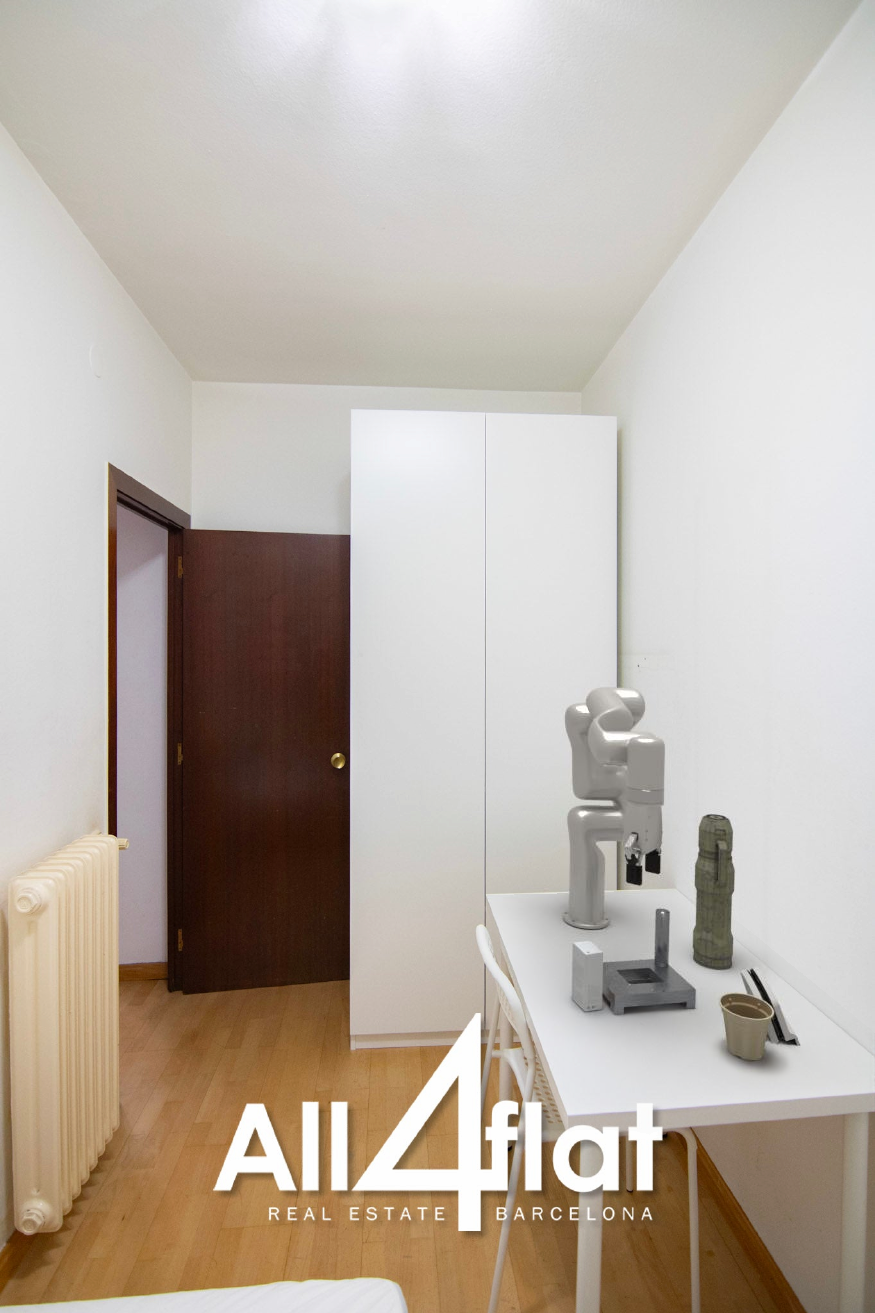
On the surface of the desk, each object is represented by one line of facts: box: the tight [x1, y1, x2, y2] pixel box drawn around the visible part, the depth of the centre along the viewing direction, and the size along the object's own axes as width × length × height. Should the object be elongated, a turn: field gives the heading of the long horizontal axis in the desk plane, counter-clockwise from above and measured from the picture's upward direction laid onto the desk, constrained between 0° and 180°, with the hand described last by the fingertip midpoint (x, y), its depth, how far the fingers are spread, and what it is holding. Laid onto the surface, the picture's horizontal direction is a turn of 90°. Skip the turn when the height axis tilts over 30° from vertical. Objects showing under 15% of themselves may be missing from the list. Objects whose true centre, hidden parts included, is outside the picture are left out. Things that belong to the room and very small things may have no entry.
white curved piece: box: [739, 967, 801, 1046], centre depth 136 cm, size 17×5×10 cm, turn 169°
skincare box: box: [571, 940, 604, 1013], centre depth 141 cm, size 6×4×12 cm
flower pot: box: [718, 992, 774, 1061], centre depth 125 cm, size 9×9×9 cm
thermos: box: [692, 813, 736, 971], centre depth 161 cm, size 9×12×35 cm
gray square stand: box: [602, 907, 697, 1016], centre depth 145 cm, size 14×18×16 cm
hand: (643, 878), depth 139 cm, fingers open, 9 cm apart
